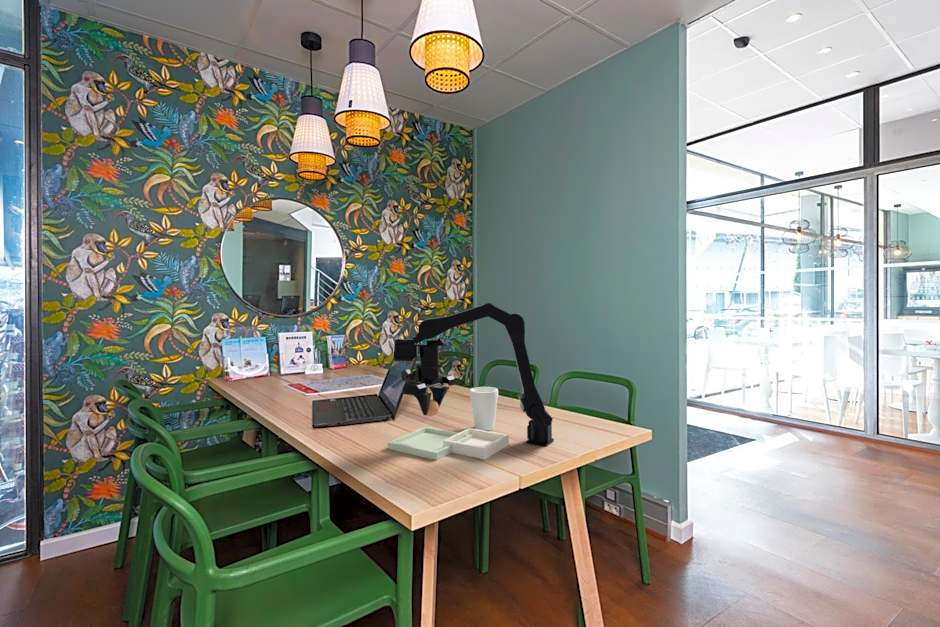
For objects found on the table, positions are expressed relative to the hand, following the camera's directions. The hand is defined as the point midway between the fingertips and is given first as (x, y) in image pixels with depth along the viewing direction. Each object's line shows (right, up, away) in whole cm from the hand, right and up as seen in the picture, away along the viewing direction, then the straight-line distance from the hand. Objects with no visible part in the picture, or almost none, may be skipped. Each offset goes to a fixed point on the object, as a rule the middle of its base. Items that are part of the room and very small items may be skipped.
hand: (430, 412), depth 134 cm
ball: (0, +1, 0) cm, 2 cm away
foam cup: (+17, -9, +17) cm, 25 cm away
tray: (0, -10, 0) cm, 10 cm away
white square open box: (+14, -10, -2) cm, 17 cm away
